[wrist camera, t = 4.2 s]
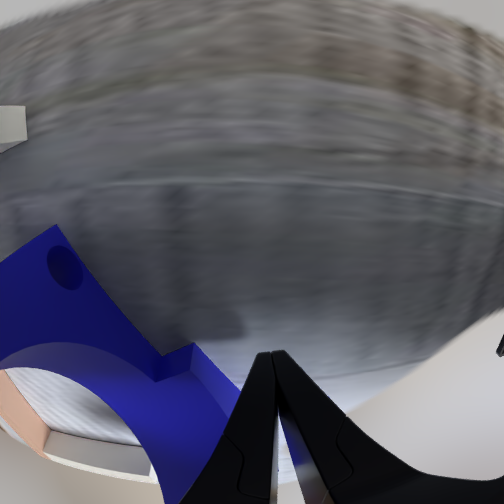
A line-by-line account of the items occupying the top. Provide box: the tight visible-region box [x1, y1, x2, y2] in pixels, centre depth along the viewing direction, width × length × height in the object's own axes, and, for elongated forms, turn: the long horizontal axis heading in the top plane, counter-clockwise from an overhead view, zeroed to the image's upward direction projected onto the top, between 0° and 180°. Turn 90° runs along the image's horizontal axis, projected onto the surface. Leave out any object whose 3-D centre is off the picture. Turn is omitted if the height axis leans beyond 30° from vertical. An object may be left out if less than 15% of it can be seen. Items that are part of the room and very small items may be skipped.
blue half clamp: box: [0, 224, 279, 504], centre depth 7 cm, size 12×4×6 cm, turn 29°
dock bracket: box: [0, 106, 158, 484], centre depth 8 cm, size 9×18×2 cm, turn 6°
